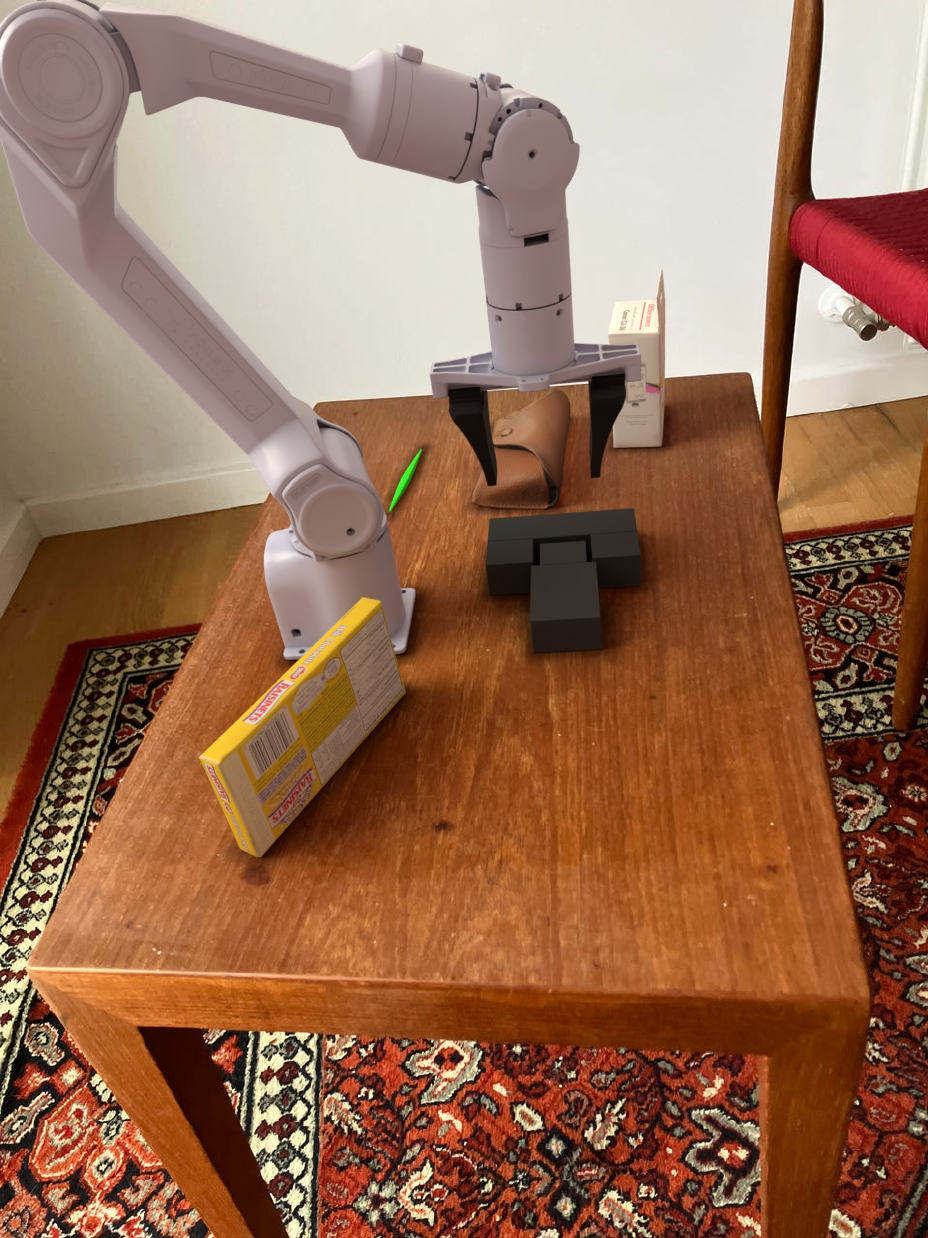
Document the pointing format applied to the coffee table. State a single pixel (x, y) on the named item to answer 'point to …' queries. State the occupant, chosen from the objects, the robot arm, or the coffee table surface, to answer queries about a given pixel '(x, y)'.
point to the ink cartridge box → (642, 370)
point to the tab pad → (564, 600)
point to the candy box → (304, 727)
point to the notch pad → (522, 535)
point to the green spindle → (405, 481)
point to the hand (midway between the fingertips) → (543, 475)
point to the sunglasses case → (528, 455)
